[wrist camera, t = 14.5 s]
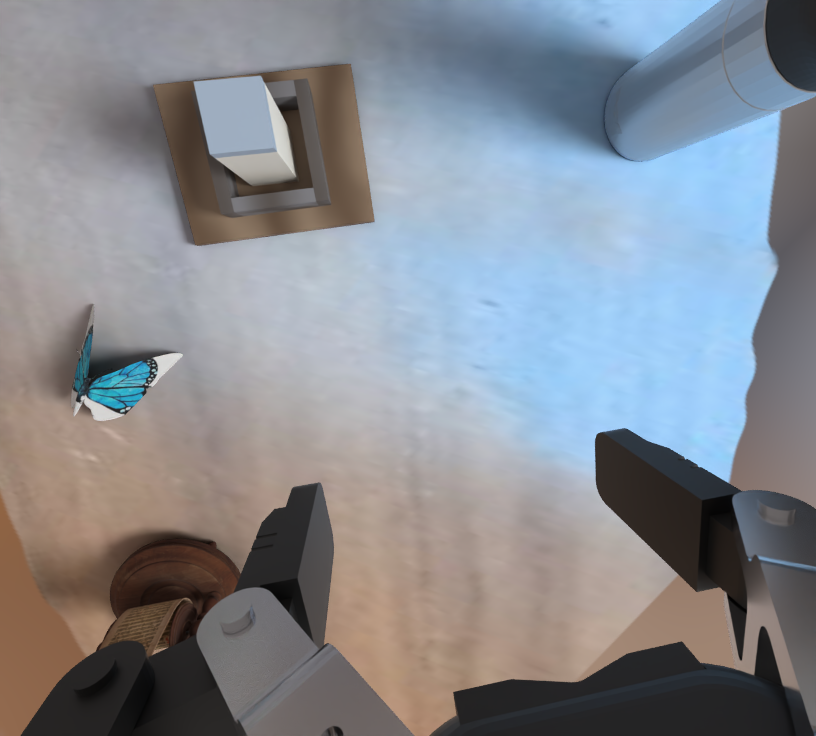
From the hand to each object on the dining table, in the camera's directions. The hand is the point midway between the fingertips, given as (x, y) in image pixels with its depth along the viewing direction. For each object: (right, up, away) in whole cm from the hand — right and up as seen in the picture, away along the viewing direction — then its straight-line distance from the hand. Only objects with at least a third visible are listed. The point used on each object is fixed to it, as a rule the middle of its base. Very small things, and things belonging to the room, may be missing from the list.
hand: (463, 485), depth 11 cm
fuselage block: (-15, +24, +27) cm, 39 cm away
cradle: (-15, +24, +28) cm, 40 cm away
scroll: (-29, -23, +38) cm, 54 cm away
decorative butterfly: (-33, +3, +32) cm, 46 cm away
